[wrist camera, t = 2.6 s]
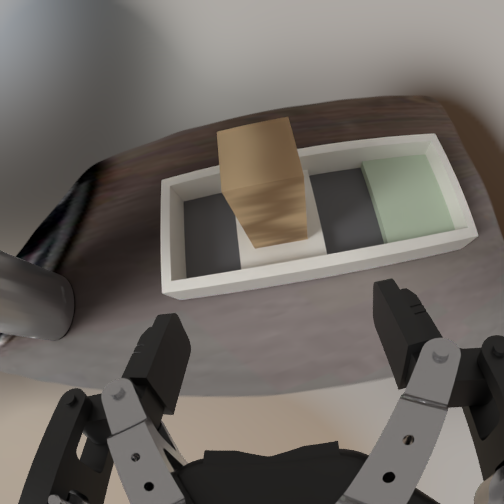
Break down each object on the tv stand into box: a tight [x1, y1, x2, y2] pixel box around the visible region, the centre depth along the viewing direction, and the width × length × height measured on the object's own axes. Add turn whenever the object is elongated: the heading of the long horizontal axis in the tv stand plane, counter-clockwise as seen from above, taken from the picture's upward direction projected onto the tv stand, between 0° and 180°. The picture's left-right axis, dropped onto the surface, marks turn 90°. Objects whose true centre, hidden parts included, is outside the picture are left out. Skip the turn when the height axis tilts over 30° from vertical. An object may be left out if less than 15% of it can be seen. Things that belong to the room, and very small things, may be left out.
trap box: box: [161, 134, 478, 300], centre depth 27 cm, size 30×12×4 cm, turn 98°
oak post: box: [217, 117, 308, 249], centre depth 23 cm, size 5×5×11 cm
